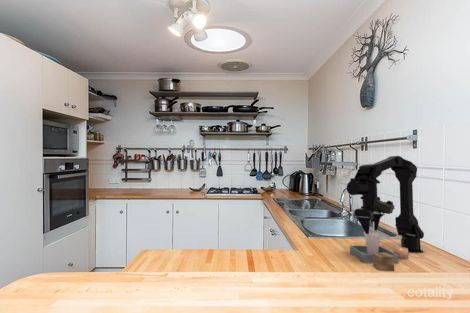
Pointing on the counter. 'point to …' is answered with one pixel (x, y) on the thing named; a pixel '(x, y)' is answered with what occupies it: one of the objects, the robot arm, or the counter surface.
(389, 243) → the counter surface
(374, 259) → the walnut block
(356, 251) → the tray
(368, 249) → the smoothie
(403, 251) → the brown short cylinder
